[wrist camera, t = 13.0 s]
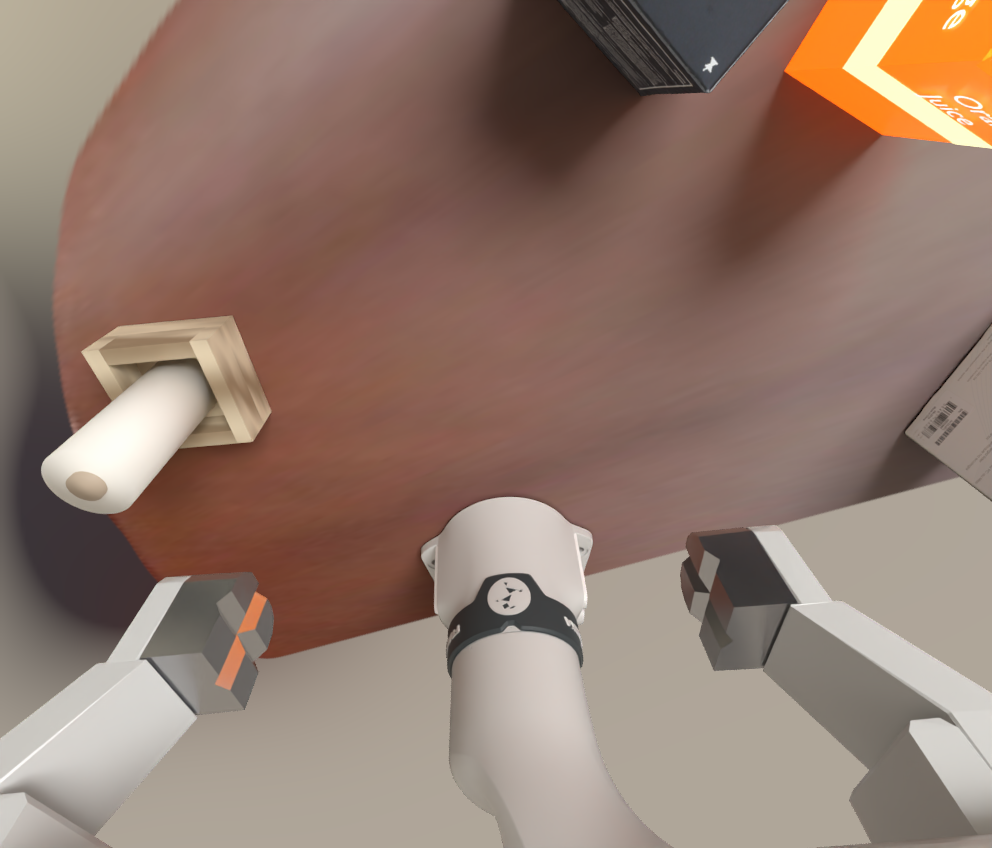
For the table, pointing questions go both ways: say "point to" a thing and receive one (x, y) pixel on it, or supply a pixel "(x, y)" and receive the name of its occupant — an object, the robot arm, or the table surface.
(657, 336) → the table surface
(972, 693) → the robot arm
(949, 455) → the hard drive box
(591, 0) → the small box
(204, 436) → the open wooden box
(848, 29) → the orange juice
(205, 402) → the paper roll
